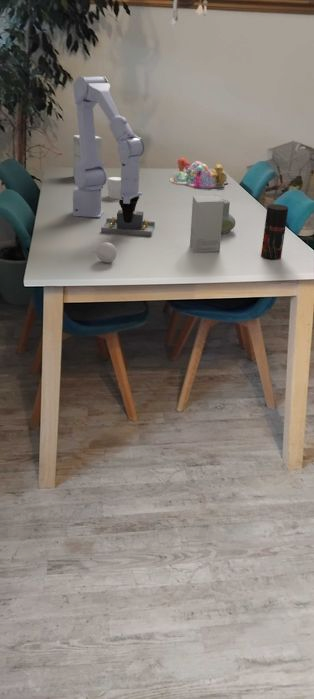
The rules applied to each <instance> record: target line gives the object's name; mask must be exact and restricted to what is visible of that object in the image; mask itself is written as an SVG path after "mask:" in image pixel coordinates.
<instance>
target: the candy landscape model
mask: <svg viewBox="0 0 314 699" xmlns="http://www.w3.org/2000/svg"><path fill="white" fill-rule="evenodd" d="M177 166H178V170H179V171H174V172H173V175H172V176H171V177H170V178H169V180H170V183H172V184H174V185H179V186H188V187H190V188H195V189H206V190H207V189H211V190H212V188H213V189H214V188H223V187H225V184H228V183H229V181H228V180H227V179H228V178H227V174H226V173H225V172H224V168H223V165H222V164H220V163H215V165H214V170H212V171H211V170H209V166H208V165H207V164H205V163H203V161H198V160H195V161H194V162H192V164H191V162H189V161H188V160H187V159H186V158H185V157H180V158H178V160H177ZM184 169H185V170H186V172H185V173H184Z"/></svg>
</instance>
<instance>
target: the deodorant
mask: <svg viewBox="0 0 314 699" xmlns="http://www.w3.org/2000/svg"><path fill="white" fill-rule="evenodd" d="M288 211H289V207H288V206H286V205H282V204H274V203H273V204H268V205H267V209H266V215H265V222H264V230H263V236H262V245H261V251H260V252H261V253H260V257H261V258H263V259H265V260H268V261H269V260H270V261H278V260H281V259H282V254H283V246H284V241H285V240H284V239H285V233H286V225H287V219H288Z"/></svg>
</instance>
